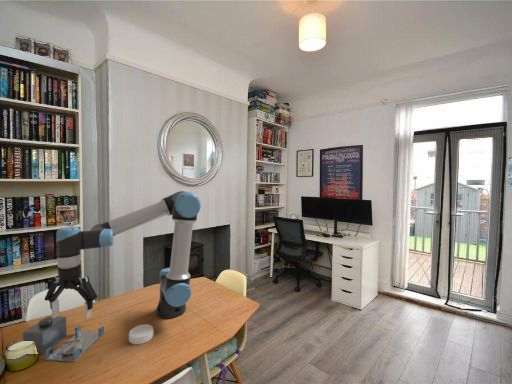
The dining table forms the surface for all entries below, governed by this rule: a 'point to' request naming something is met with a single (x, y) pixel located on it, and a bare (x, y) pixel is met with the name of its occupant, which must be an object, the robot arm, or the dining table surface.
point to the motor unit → (58, 338)
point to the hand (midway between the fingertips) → (72, 316)
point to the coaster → (141, 334)
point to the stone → (71, 345)
